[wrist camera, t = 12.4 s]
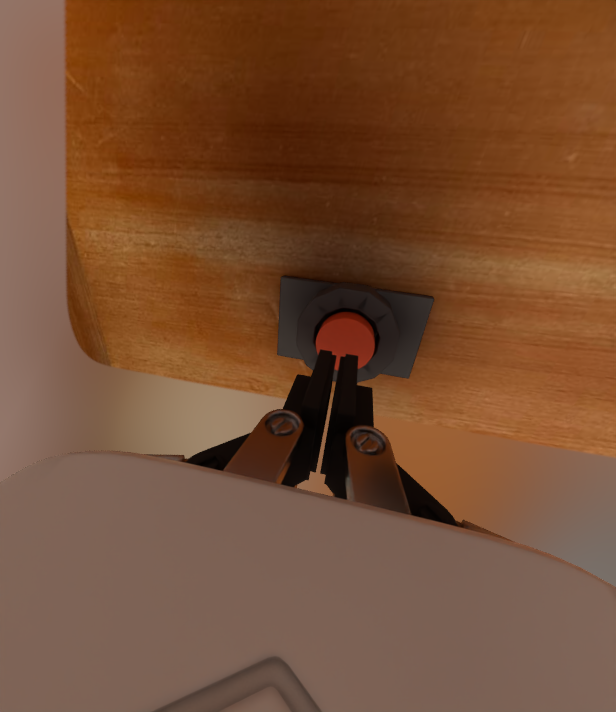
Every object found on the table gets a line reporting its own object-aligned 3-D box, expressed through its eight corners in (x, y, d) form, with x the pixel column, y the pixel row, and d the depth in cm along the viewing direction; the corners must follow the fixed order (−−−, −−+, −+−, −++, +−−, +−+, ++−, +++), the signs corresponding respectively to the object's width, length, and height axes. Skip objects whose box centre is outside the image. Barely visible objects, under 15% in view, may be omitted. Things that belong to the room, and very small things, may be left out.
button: (316, 357, 19) (312, 366, 17) (322, 307, 17) (319, 314, 16) (368, 366, 18) (368, 376, 17) (379, 315, 16) (380, 323, 15)
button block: (279, 354, 21) (269, 369, 19) (283, 271, 18) (272, 278, 16) (406, 377, 20) (411, 395, 18) (434, 292, 17) (443, 302, 15)
